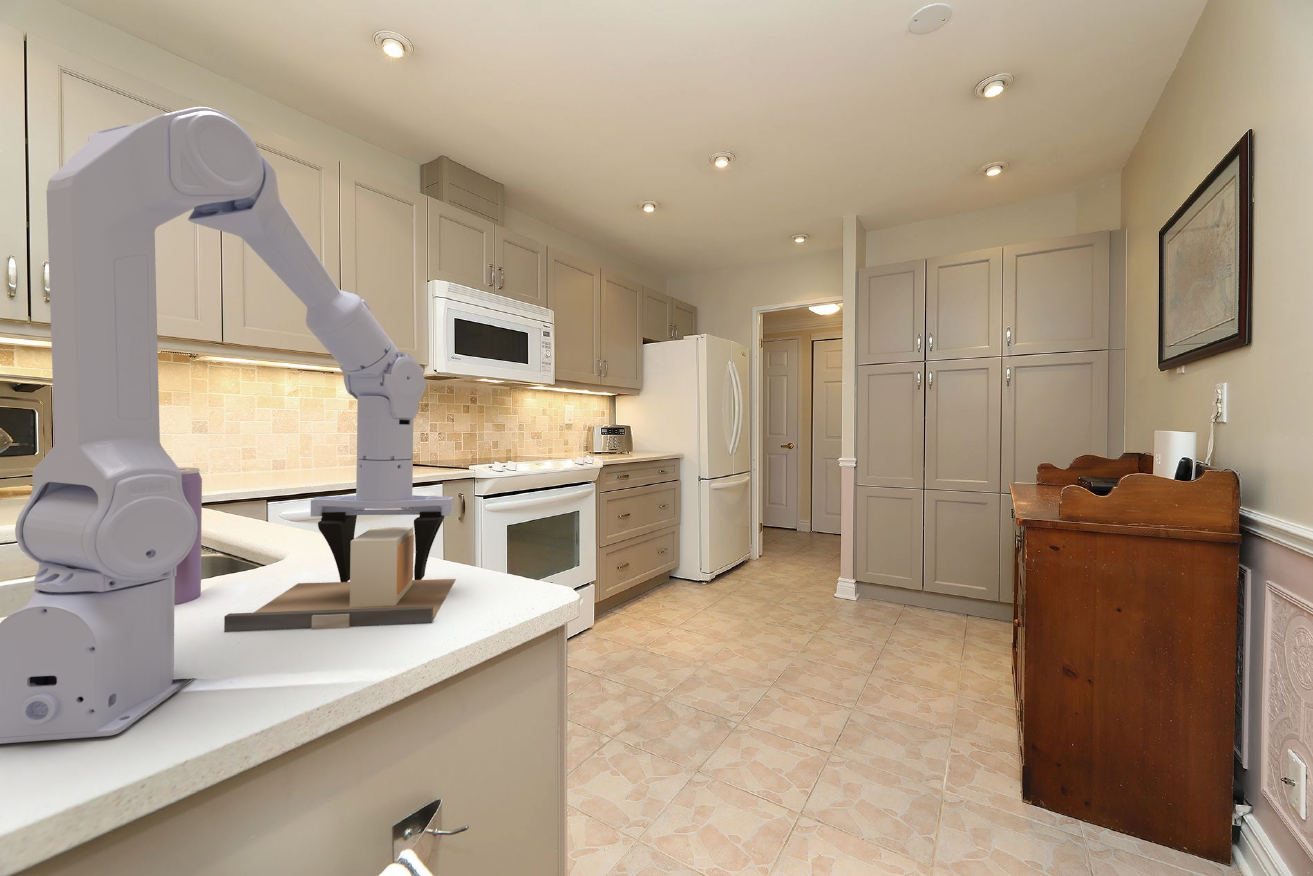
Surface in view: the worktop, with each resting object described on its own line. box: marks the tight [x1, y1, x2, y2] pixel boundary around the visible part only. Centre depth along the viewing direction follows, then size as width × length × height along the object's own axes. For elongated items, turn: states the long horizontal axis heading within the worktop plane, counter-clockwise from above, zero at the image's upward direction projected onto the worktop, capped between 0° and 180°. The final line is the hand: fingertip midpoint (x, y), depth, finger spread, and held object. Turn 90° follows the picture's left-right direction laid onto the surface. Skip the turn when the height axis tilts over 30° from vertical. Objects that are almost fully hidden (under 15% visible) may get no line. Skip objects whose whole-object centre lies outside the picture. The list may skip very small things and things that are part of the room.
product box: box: [349, 526, 415, 607], centre depth 64 cm, size 5×8×7 cm, turn 12°
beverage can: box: [174, 466, 203, 606], centre depth 60 cm, size 6×6×15 cm
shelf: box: [223, 578, 457, 633], centre depth 61 cm, size 16×18×2 cm
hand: (383, 578), depth 64 cm, fingers open, 7 cm apart
